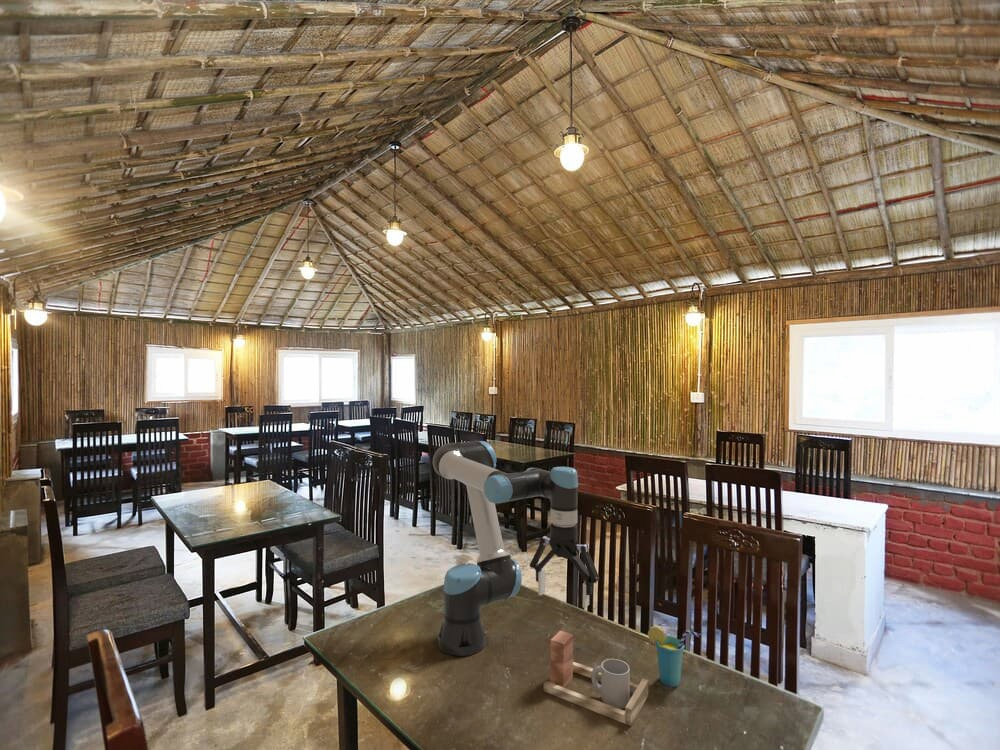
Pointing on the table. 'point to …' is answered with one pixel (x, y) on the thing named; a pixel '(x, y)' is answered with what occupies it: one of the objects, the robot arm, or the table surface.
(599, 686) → the cup
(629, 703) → the frame
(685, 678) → the table surface
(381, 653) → the table surface
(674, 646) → the cup
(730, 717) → the table surface
